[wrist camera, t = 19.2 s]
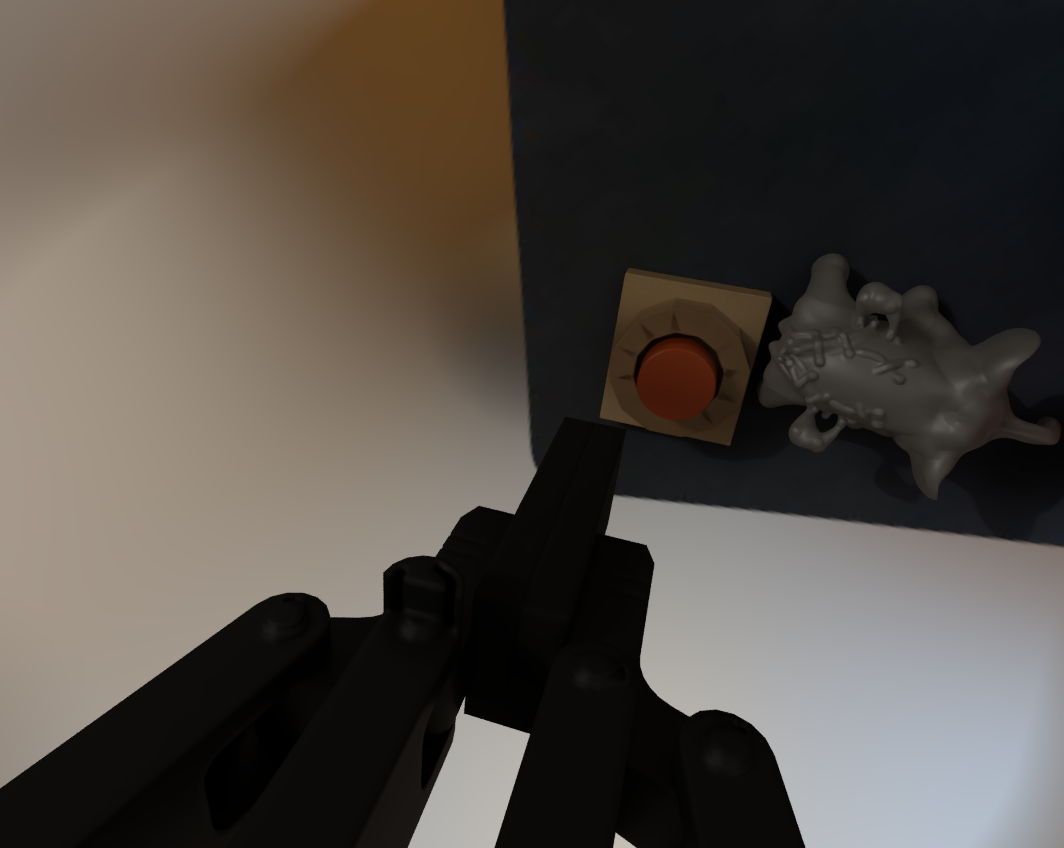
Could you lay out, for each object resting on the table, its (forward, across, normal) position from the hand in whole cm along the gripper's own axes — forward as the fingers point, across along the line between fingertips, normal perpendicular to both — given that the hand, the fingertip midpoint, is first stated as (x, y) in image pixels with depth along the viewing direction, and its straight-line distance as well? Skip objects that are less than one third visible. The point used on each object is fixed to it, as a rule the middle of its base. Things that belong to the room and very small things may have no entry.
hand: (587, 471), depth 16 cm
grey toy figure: (+19, +11, -1) cm, 23 cm away
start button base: (+19, +2, -3) cm, 20 cm away
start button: (+17, +2, -3) cm, 17 cm away
